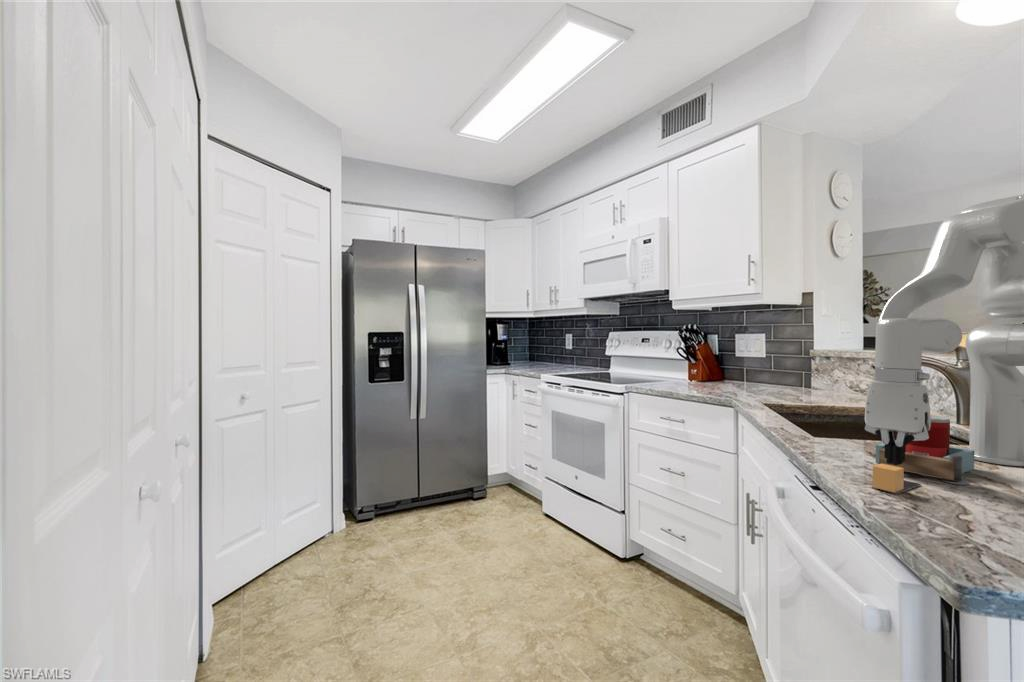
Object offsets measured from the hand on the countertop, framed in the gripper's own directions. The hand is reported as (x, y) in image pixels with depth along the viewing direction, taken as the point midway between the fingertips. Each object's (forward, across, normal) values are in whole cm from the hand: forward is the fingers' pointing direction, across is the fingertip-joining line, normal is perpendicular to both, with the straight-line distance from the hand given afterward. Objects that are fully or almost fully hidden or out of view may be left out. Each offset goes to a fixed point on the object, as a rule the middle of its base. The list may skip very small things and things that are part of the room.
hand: (894, 463), depth 97 cm
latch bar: (+1, -3, -3) cm, 5 cm away
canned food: (+2, -1, -13) cm, 13 cm away
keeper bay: (+2, -1, -13) cm, 13 cm away
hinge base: (+2, -9, -4) cm, 10 cm away
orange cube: (+2, -4, +13) cm, 14 cm away
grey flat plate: (+2, -4, +10) cm, 11 cm away
